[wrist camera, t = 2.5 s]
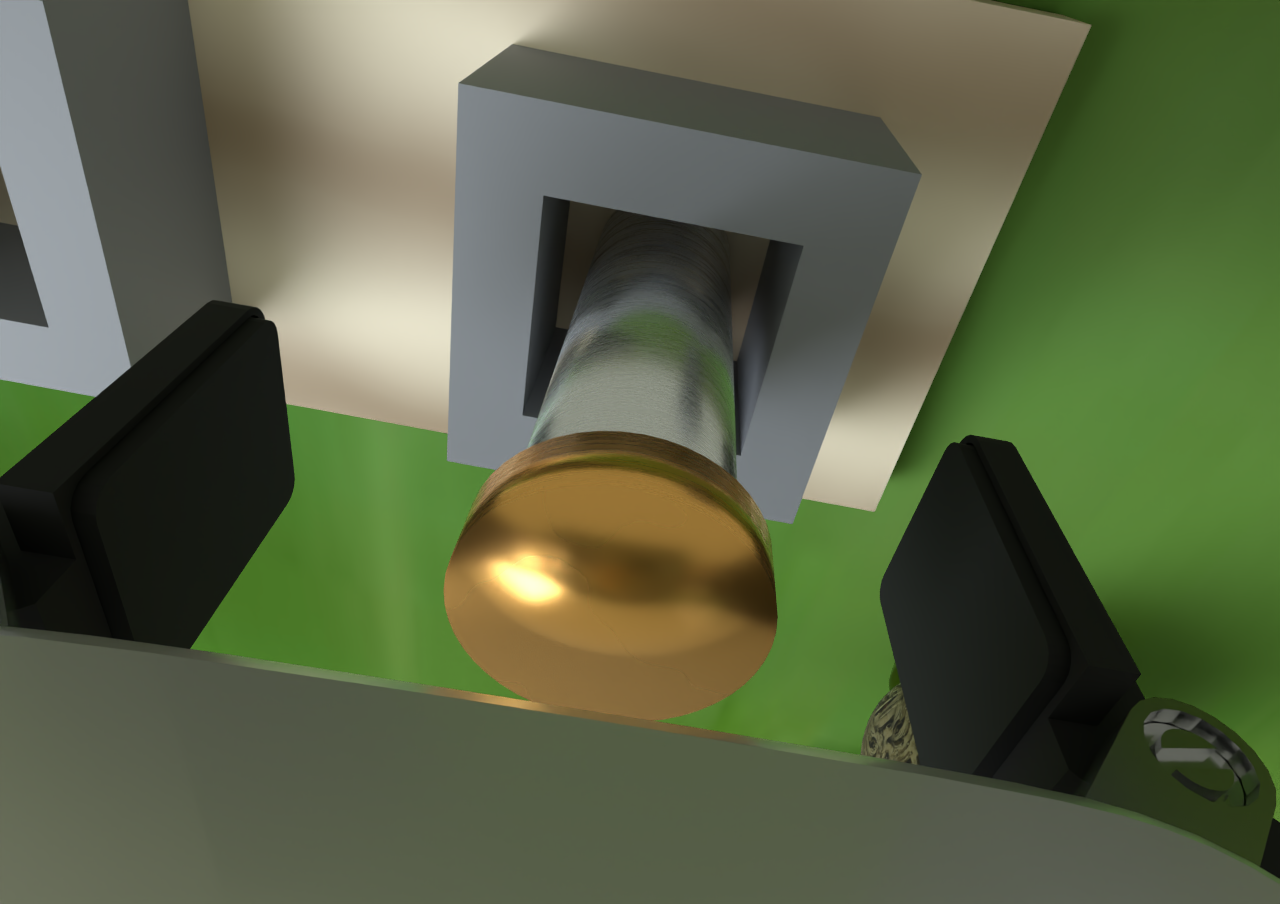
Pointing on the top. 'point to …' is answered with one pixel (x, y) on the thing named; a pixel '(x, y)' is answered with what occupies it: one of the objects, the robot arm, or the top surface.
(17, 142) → the dock socket
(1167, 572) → the top surface
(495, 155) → the lock mount
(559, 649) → the pin
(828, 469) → the dock board
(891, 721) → the cup
